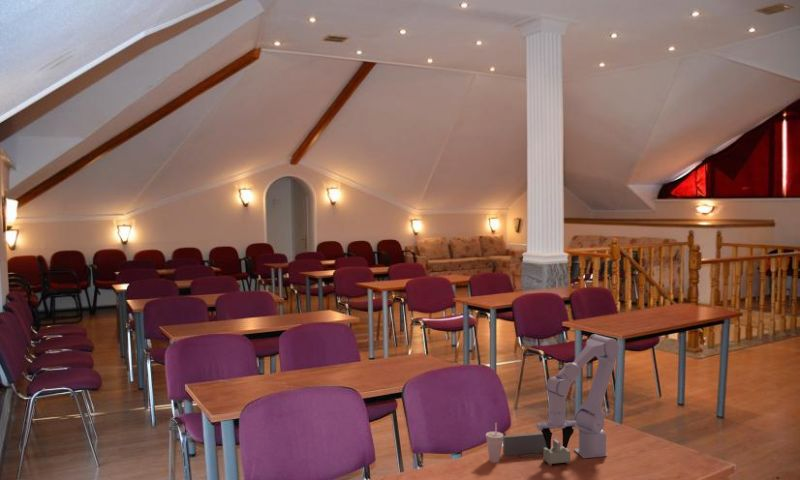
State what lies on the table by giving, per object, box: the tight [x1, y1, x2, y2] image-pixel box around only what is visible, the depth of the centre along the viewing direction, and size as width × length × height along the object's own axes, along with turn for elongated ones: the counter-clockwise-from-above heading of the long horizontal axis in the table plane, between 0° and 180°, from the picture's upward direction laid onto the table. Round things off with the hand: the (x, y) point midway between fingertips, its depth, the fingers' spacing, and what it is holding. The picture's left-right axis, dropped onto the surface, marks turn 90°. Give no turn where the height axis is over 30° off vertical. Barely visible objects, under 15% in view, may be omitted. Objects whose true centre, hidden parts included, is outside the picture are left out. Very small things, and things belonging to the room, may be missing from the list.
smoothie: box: [485, 422, 504, 464], centre depth 247 cm, size 6×6×14 cm
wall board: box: [502, 432, 546, 459], centre depth 253 cm, size 18×4×7 cm, turn 102°
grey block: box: [542, 438, 571, 468], centre depth 245 cm, size 8×5×8 cm, turn 102°
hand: (556, 447), depth 245 cm, fingers open, 6 cm apart
